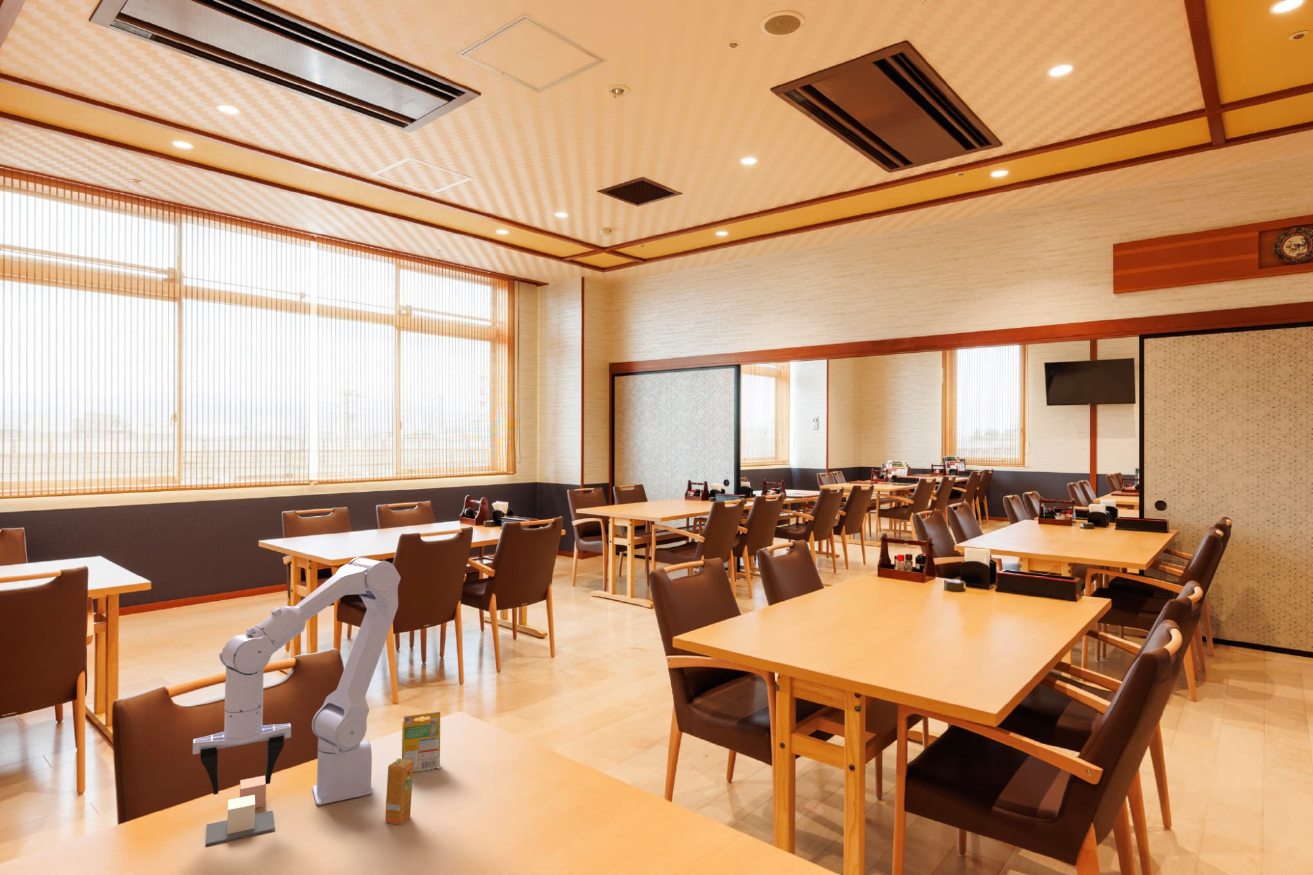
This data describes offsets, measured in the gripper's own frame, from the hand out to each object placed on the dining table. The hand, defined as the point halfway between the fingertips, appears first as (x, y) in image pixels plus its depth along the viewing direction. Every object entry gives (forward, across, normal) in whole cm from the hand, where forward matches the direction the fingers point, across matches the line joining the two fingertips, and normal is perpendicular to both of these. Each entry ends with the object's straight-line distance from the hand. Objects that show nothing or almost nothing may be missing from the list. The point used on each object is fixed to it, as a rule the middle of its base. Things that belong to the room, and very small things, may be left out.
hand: (242, 786), depth 123 cm
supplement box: (+7, -24, +10) cm, 27 cm away
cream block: (+7, 0, 0) cm, 7 cm away
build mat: (+7, 0, 0) cm, 7 cm away
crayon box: (+8, -32, -9) cm, 34 cm away
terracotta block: (+7, -2, -9) cm, 12 cm away
